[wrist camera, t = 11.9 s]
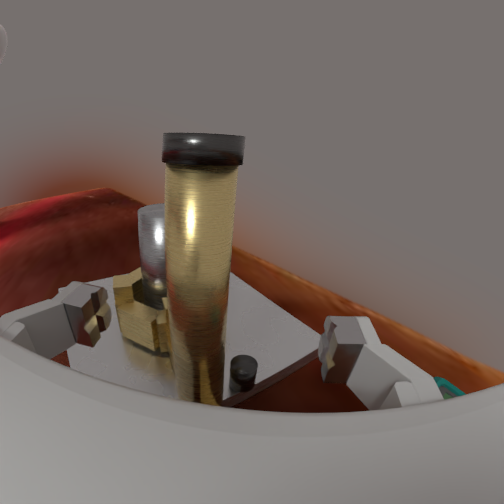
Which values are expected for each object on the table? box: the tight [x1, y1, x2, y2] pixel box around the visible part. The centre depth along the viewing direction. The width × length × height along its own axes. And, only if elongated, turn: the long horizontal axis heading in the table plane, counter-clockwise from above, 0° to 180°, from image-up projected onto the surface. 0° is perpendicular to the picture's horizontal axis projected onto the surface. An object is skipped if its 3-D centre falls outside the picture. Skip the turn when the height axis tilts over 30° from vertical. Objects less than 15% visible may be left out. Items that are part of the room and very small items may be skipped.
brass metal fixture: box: [113, 133, 245, 406], centre depth 16 cm, size 14×8×14 cm, turn 25°
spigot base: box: [58, 203, 321, 408], centre depth 19 cm, size 20×18×10 cm
